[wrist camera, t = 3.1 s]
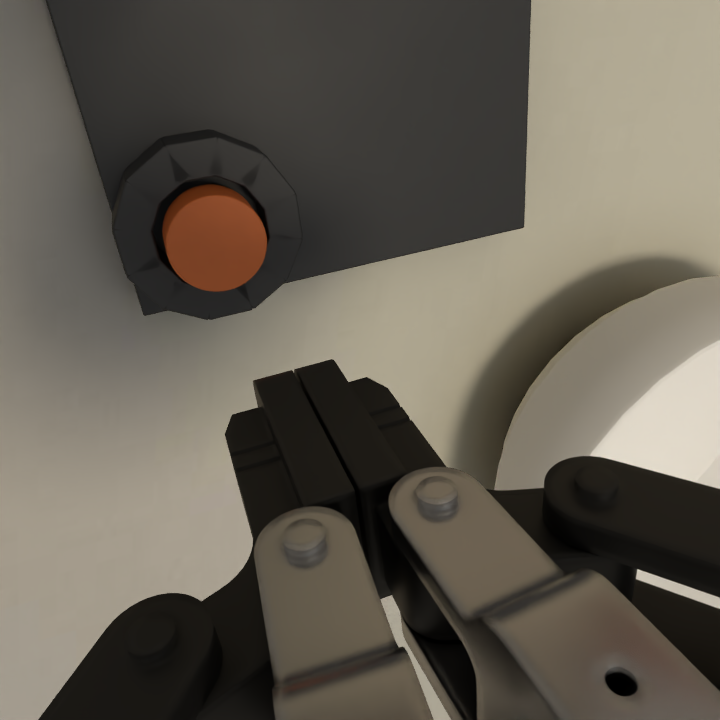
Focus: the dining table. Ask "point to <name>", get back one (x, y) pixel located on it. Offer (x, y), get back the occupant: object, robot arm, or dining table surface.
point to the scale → (302, 127)
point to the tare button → (214, 238)
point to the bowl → (630, 398)
